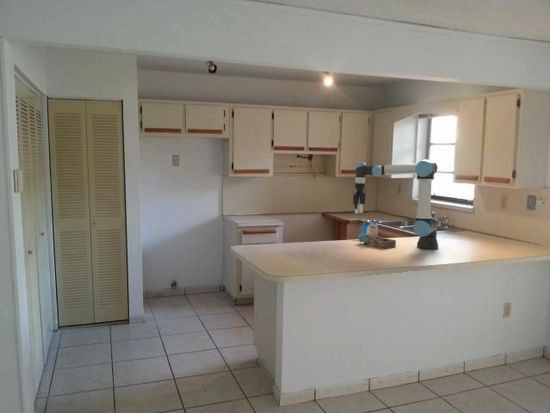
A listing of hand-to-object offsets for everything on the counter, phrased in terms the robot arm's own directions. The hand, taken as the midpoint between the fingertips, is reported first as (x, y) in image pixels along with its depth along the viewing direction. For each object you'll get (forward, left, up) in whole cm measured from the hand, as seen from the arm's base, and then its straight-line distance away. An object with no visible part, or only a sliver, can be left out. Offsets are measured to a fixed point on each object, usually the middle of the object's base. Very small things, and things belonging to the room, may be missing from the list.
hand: (358, 212), depth 355 cm
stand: (-21, 0, -23) cm, 31 cm away
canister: (-14, 0, -20) cm, 25 cm away
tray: (-13, 0, -21) cm, 25 cm away
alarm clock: (+4, -22, -23) cm, 32 cm away
